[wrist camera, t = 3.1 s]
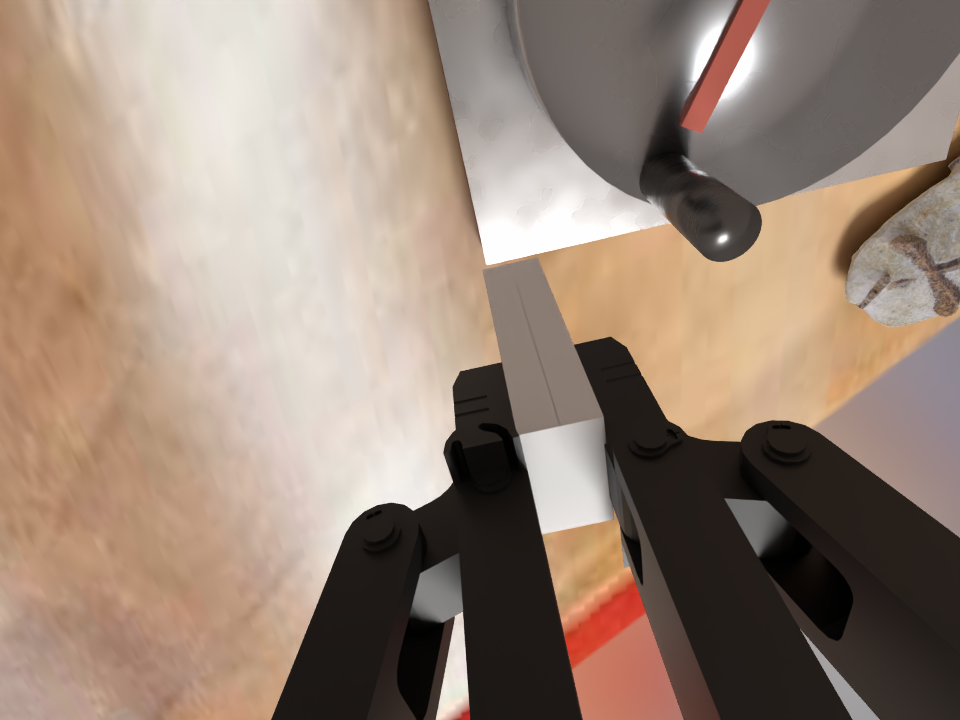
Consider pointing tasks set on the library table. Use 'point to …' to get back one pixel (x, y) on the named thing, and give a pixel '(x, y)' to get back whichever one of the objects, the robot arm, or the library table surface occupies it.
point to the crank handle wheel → (727, 94)
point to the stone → (912, 260)
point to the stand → (556, 167)
